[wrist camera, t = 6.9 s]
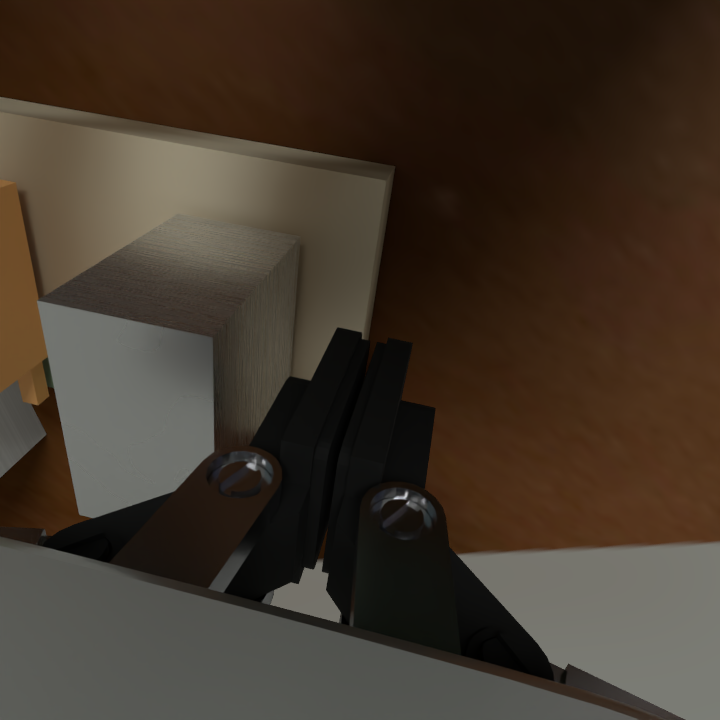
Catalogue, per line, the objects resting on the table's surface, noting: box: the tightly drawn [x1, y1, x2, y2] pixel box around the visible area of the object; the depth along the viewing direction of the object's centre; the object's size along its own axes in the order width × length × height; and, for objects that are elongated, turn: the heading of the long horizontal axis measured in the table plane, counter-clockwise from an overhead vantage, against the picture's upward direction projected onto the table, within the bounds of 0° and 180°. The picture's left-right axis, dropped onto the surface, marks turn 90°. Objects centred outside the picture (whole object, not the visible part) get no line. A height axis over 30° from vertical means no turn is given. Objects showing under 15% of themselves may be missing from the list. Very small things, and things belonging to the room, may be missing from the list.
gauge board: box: [0, 97, 395, 388], centre depth 14 cm, size 16×8×7 cm, turn 83°
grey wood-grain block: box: [37, 213, 300, 518], centre depth 12 cm, size 3×5×5 cm, turn 173°
